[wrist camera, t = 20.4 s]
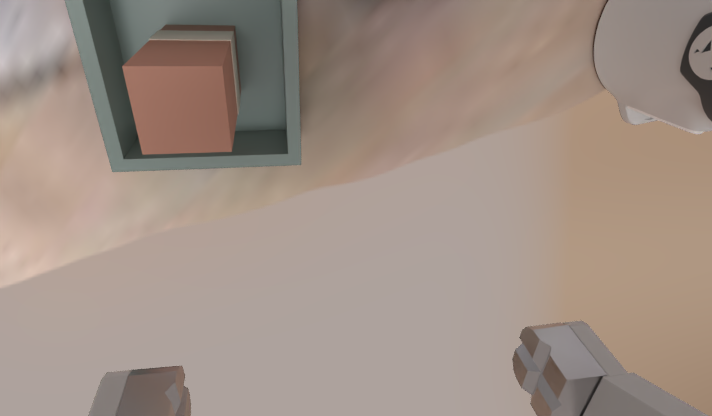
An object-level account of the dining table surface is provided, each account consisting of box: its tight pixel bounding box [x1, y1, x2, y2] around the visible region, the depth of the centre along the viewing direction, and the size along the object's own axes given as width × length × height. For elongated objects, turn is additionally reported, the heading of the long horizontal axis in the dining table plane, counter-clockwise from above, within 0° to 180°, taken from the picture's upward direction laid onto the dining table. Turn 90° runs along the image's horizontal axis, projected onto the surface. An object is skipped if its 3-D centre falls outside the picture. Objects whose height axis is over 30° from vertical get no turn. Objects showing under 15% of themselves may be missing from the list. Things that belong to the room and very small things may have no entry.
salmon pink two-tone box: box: [122, 25, 241, 155], centre depth 30 cm, size 5×5×12 cm
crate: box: [65, 0, 301, 172], centre depth 33 cm, size 14×14×6 cm
